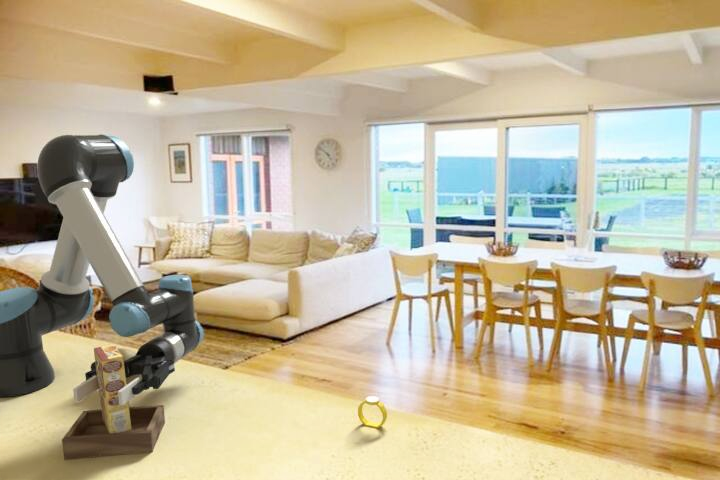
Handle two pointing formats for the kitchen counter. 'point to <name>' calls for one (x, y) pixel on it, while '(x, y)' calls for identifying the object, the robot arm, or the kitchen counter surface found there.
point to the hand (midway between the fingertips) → (97, 397)
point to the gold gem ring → (372, 401)
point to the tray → (113, 434)
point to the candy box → (112, 388)
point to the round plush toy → (126, 356)
